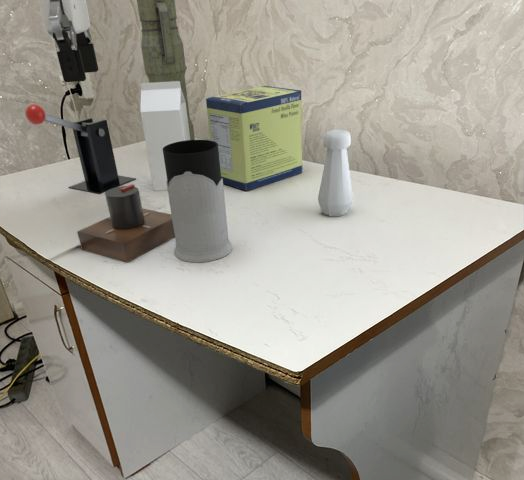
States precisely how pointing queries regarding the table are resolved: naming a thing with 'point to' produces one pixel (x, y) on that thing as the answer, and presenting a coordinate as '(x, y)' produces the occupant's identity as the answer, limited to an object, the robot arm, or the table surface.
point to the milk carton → (162, 124)
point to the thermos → (163, 46)
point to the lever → (51, 119)
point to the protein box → (257, 135)
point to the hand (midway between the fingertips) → (82, 76)
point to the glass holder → (197, 200)
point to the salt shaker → (336, 175)
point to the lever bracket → (97, 159)
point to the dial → (125, 207)
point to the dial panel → (127, 236)
